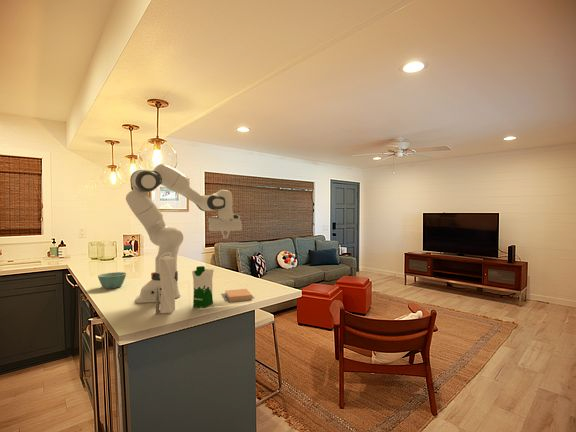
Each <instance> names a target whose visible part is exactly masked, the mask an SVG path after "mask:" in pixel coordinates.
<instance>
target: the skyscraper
mask: <svg viewBox="0 0 576 432" xmlns="http://www.w3.org/2000/svg"><path fill="white" fill-rule="evenodd" d="M165 254H170V256H171V253H165ZM165 254H163V255H165ZM163 255H162V256H163ZM162 256H161V257H162ZM170 256H166V257H164V258H162V259H161V257H160V261H159V268H160V281H161V286H162V289H161V302H159V296H158V287H157V297H156V302H155V313H154V315H155V316H157V315H159V316H160V315H171V314H173V312H174V311H175V310H176V303H175V302H176V300H175V299H176V298H175V296H174V287H173V283H174V278H175V257H170Z"/></svg>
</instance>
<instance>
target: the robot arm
mask: <svg viewBox="0 0 576 432" xmlns="http://www.w3.org/2000/svg"><path fill="white" fill-rule="evenodd" d="M129 181H130V188H131V190H130V191H129V192H128V193H127V194H126V196H125V200H126V203H127V206H128V207H129V209H130V210H131V211H132V213H133V215H134V216H135V218H137V220H138V221H139V222H140V224H142V226H143V227H144V229H145V231H146V233H147V235H148V237H149V240H150V241H151V243H152V244H153V245H155V246H157V247H158V253H157V255H156V257H155V261H154V262H155V272H154V271H152V272H151V274H150V275H151V276H150V277H151V279H150V280H149V281H148V282H147V283H145V284H144V285H143V286H141V289H140V293H139V295H137V296H136V297H135V303H138V304H141V303H146V304H147V303H156V297H157V287H158V296H159V303H161V289H162V286H161V281H160V268H159V261H160V257H161V256H162V255H163V254H165V253H171V256H170V254H165V255H163V256H162V257H161V259H162V258H164V257H166V256H170V257H175V278H174V283H173V287H174V296H175V299H177V298H180V296H181V294H180V291H179V286H178V285H179V284H178V281H179V272H178V254H179V249H180V247H181V244H182V243H183V241H184V235H183V233H182V231H181V230H179V229H177V228H175V227H170V226H167V224H166V223H165V220H164V217H163V215H164V214H163V213H162V212H161V211H160V209H159V208H158V207H157V205H156V204H155V203H154V201H153V200H152V199H151V197H150V194H149V193H150V192H152V191H154V190H155V189H157V188H158V187H159V186H160V185H161V186H163V187H165V188H167V189H169V190H170V191H172V192H175V193H177V194H179V195H181V196H183V197H185V198H187V199H188V200H189V201H191V202H192V203H194V204H195V205H196V206H197V208H198V209H199V210H200V211H202V212H213V211H217V215H214V216H213V215H211V216H209V217H208V218H207V219H208V221H207V222H208V230H209V232H221V235H222V238H223V239H229V235H230V233H231V231H232V232H236V231H242V230H243V224H242V220H241V215H239V214H236V213H234V212H233V193H232V191H230V190H228V189H219V190H217V192H214V193H211V194H207V195H205V194H201V193H199V192H198V191H196V190H195V189H193V188H192V187H190V179H189V178H188V177H187V176H186V175H185V174H184V173H182V172H180V171H179V170H177V169H176V168H173V167H172V166H169V165H166V164H164V163H160V164H157V165H156V166H155V167H154V169H153V170H147V169H137V170H135V171H134V172H132V174H131V175H130V180H129ZM225 232H226V233H227V234H225Z"/></svg>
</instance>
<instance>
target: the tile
mask: <svg viewBox="0 0 576 432" xmlns="http://www.w3.org/2000/svg"><path fill="white" fill-rule="evenodd" d="M224 293H225V295H226V297H227V299H228V300H229V301H228V302H229V303H233V302H242V301H251V300H253V299H252V296H253V294H252V293H251V292H250V291H249V290H248V289H247V288H238V289H230V290H229V289H228V290H225V292H224Z"/></svg>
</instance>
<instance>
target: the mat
mask: <svg viewBox="0 0 576 432" xmlns="http://www.w3.org/2000/svg"><path fill="white" fill-rule="evenodd" d="M220 295H221V297H222V298H223V301H224V302H229V300H228V299H227V297H226V295H225V292H224V293H220ZM253 299H256V298H255V296H253V295H252V300H253Z"/></svg>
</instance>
